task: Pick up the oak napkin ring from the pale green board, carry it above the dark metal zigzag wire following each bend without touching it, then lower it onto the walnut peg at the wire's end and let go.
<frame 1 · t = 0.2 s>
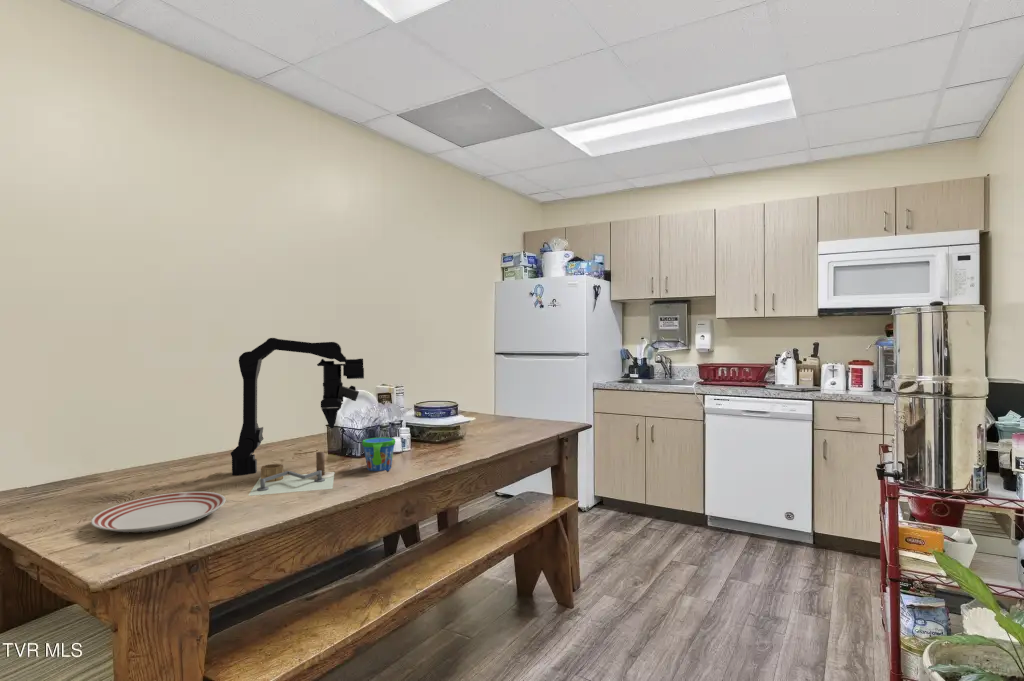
hand: (332, 426, 185), 14 cm above the table, tool pointing down, fingers open, 9 cm apart
dinner plate: (162, 521, 135), on the table
snack cup: (379, 471, 182), on the table
ring: (272, 479, 169), point 1 cm above the table, touching wire course
peg stand: (320, 476, 172), resting on wire course
wire course: (294, 485, 165), on the table
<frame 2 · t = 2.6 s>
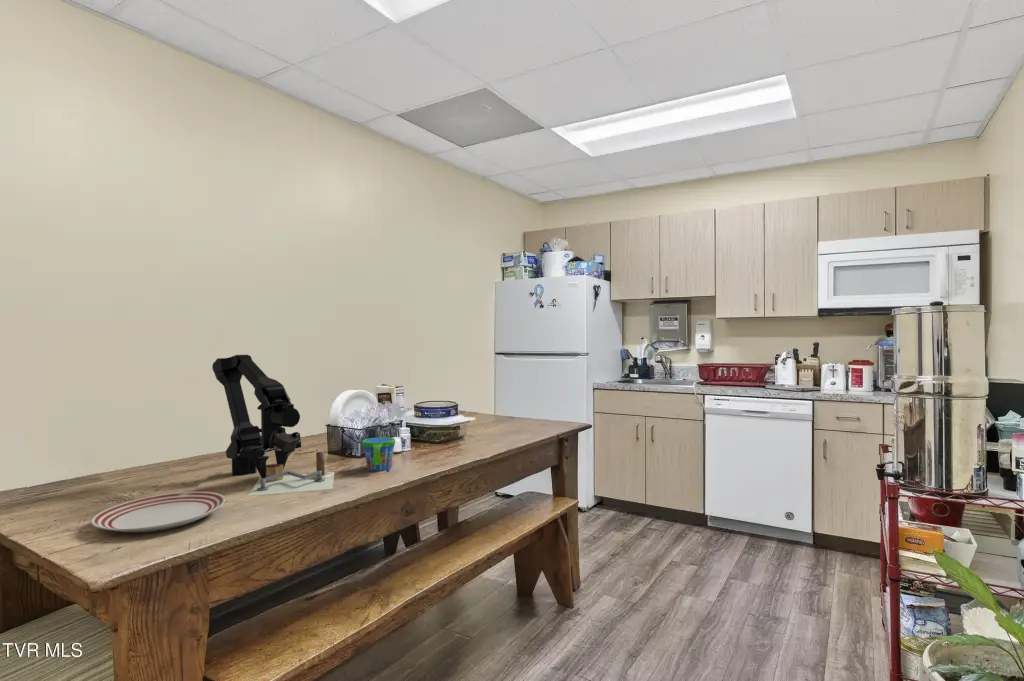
hand: (272, 475, 169), 2 cm above the table, tool pointing down, fingers closed on ring, 6 cm apart
ring: (272, 479, 169), point 1 cm above the table, touching gripper, wire course
everything else where it was.
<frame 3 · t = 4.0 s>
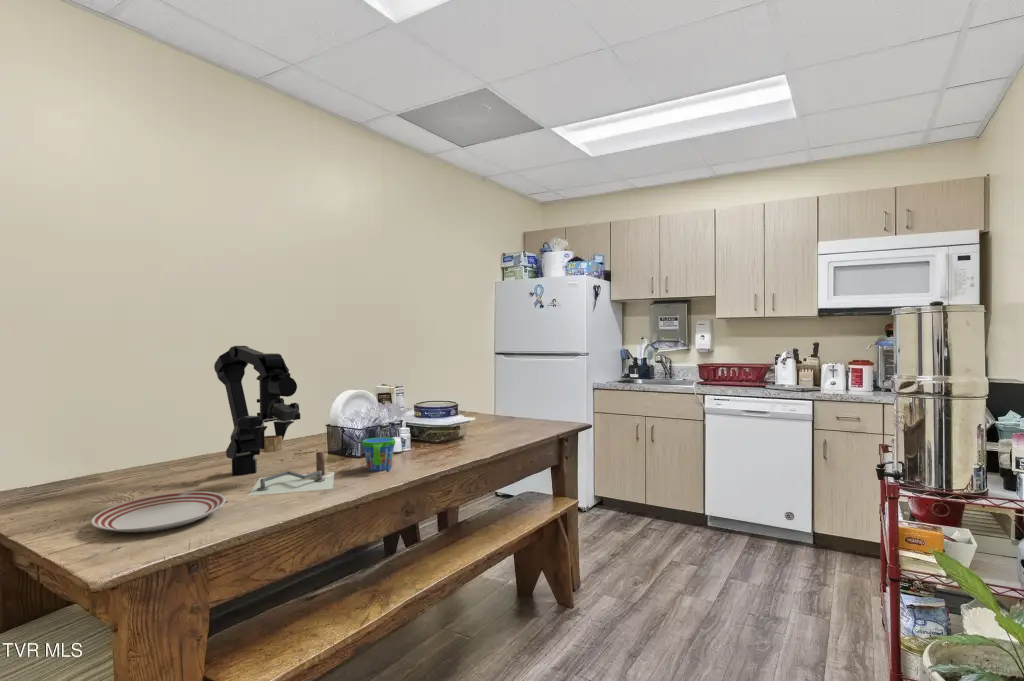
hand: (271, 447, 168), 11 cm above the table, tool pointing down, fingers closed on ring, 6 cm apart
ring: (271, 450, 168), point 10 cm above the table, touching gripper
everything else where it was.
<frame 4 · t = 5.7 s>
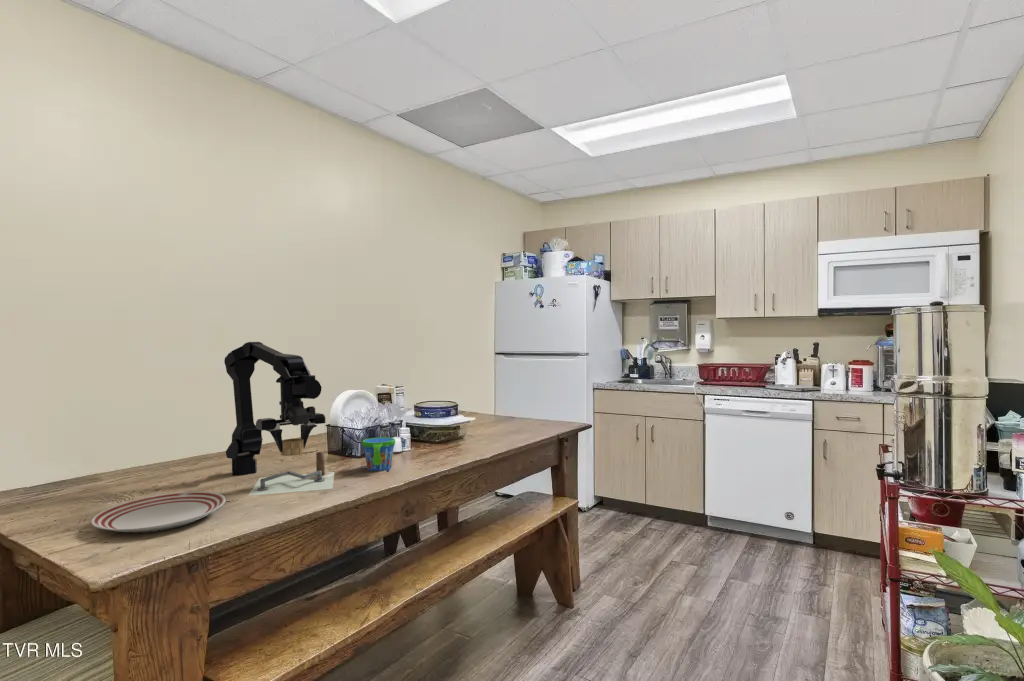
hand: (292, 450, 165), 10 cm above the table, tool pointing down, fingers closed on ring, 6 cm apart
ring: (292, 453, 165), point 9 cm above the table, touching gripper
everything else where it was.
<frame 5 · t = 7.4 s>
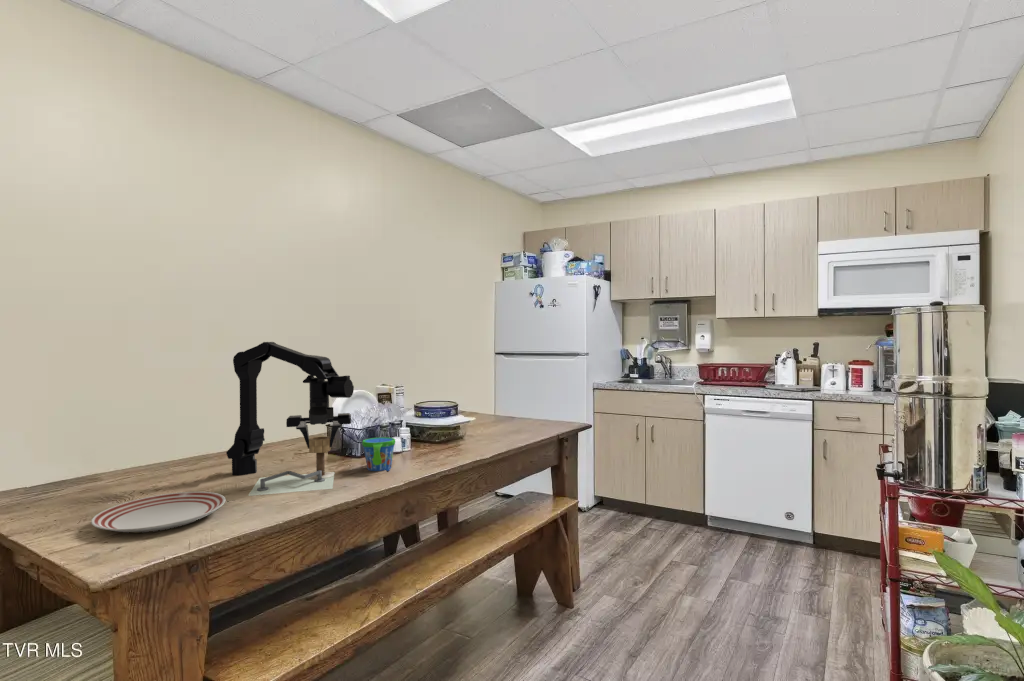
hand: (319, 447, 172), 10 cm above the table, tool pointing down, fingers closed on ring, 6 cm apart
ring: (319, 450, 172), point 9 cm above the table, touching gripper
everything else where it was.
when the fingers open (5 cm above the table, at t = 8.7 s): ring drops 2 cm, resting on peg stand.
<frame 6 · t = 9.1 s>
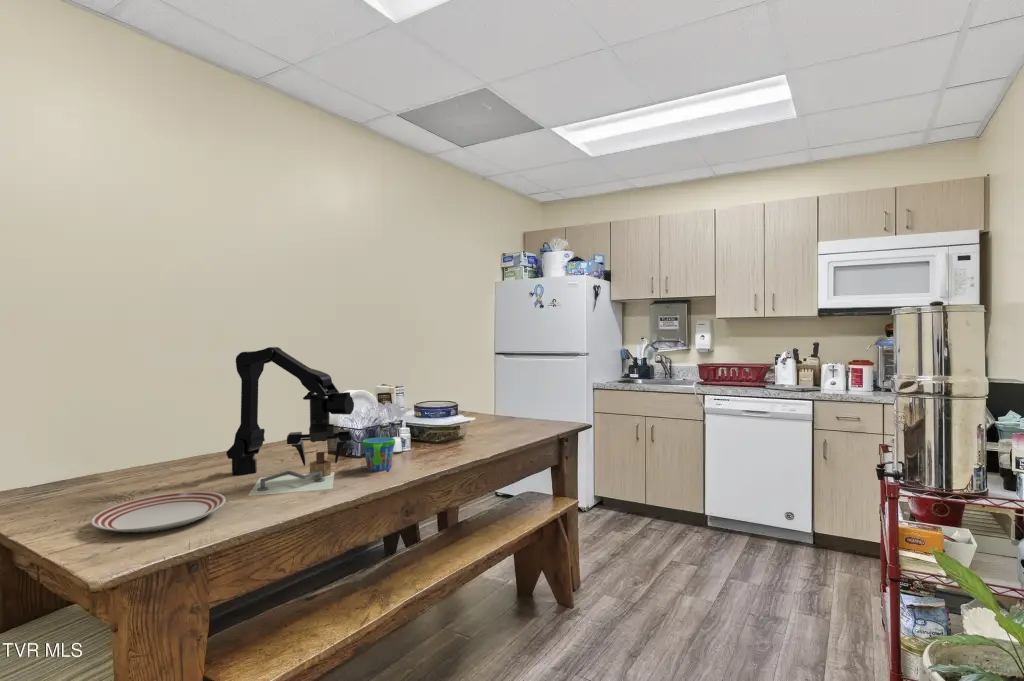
hand: (320, 464, 172), 5 cm above the table, tool pointing down, fingers open, 9 cm apart
ring: (320, 475, 172), point 1 cm above the table, touching peg stand
everything else where it was.
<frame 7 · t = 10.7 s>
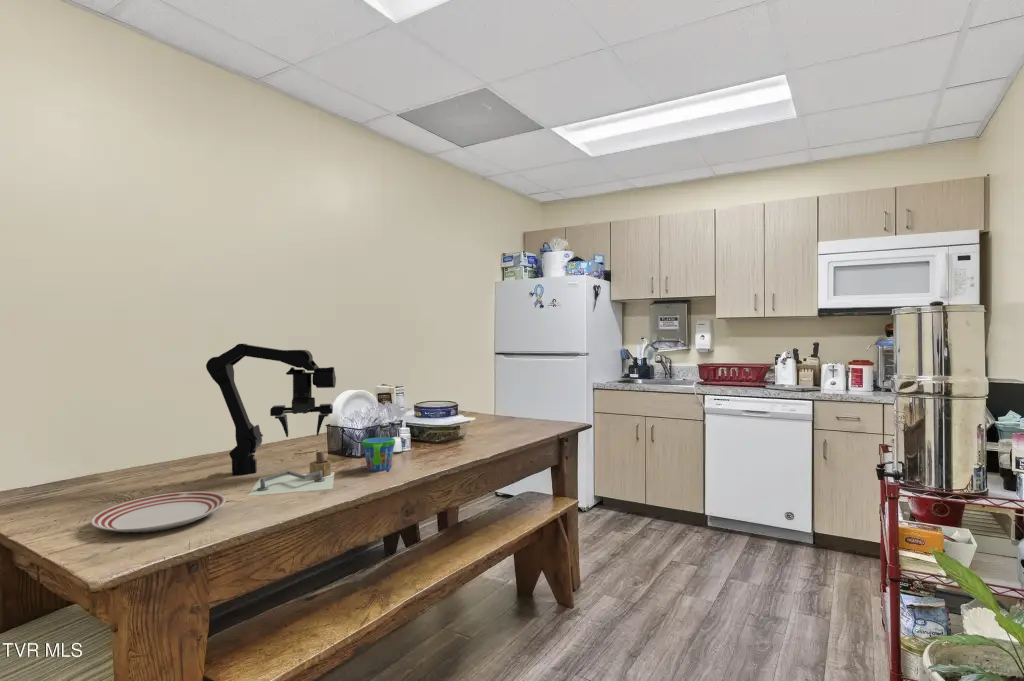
hand: (302, 436, 181), 12 cm above the table, tool pointing down, fingers open, 9 cm apart
nothing on the table moved.
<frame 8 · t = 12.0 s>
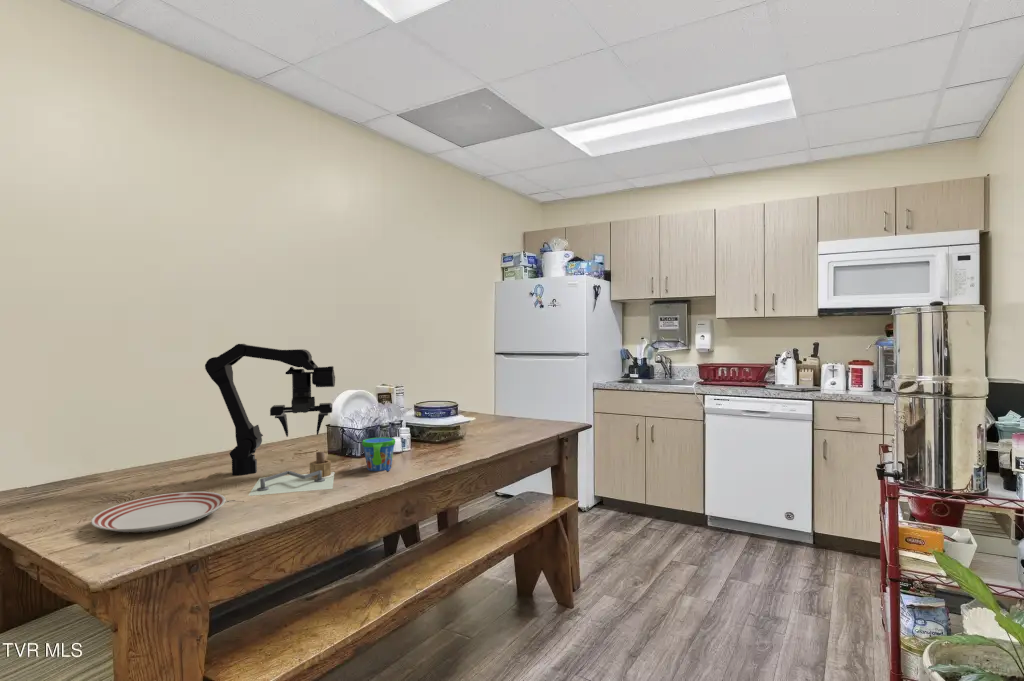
hand: (302, 435, 181), 12 cm above the table, tool pointing down, fingers open, 9 cm apart
nothing on the table moved.
at the end: ring 0.1 cm from the peg stand (horizontally); ring point 1.2 cm above the table; ring touching peg stand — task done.
